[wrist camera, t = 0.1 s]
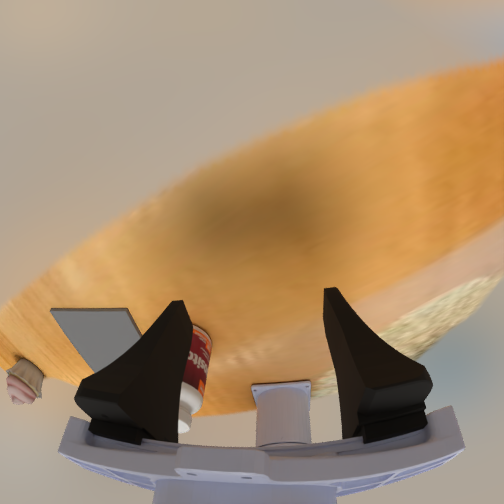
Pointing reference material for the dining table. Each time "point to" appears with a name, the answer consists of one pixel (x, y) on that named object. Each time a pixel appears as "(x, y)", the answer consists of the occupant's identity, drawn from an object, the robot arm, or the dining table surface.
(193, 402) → the pill bottle
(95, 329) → the mat
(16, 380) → the cupcake
